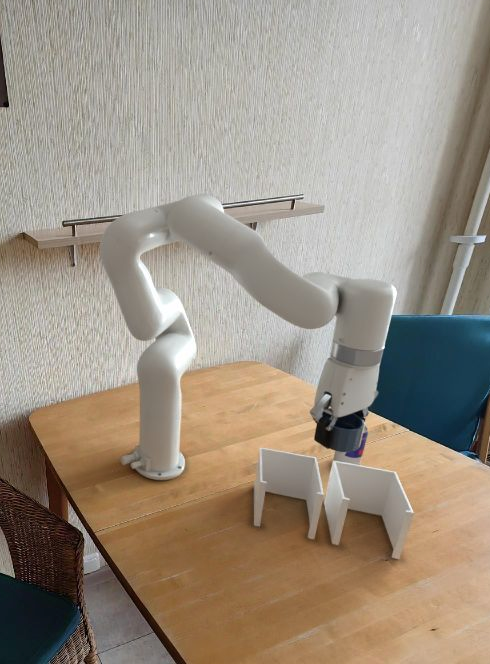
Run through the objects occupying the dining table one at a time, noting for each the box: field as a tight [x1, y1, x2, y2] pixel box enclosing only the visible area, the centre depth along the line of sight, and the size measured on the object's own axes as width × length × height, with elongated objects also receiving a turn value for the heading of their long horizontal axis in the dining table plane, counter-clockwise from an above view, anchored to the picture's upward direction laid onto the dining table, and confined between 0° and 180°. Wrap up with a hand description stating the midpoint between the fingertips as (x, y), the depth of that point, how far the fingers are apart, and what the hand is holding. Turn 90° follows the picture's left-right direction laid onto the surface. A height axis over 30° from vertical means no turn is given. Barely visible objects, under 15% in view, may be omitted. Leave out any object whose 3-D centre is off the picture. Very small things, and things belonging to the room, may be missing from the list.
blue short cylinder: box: [324, 407, 366, 452], centre depth 78 cm, size 7×7×5 cm
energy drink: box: [332, 425, 369, 465], centre depth 98 cm, size 5×5×12 cm
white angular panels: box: [253, 446, 415, 560], centre depth 84 cm, size 25×11×11 cm, turn 71°
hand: (337, 437), depth 79 cm, fingers closed on blue short cylinder, 7 cm apart
